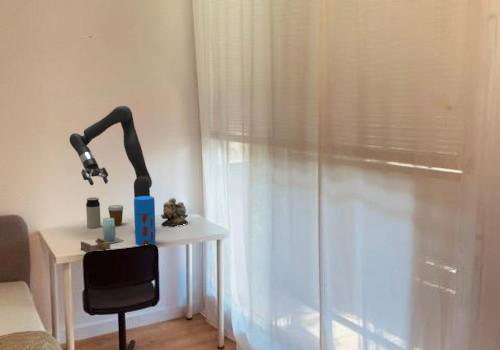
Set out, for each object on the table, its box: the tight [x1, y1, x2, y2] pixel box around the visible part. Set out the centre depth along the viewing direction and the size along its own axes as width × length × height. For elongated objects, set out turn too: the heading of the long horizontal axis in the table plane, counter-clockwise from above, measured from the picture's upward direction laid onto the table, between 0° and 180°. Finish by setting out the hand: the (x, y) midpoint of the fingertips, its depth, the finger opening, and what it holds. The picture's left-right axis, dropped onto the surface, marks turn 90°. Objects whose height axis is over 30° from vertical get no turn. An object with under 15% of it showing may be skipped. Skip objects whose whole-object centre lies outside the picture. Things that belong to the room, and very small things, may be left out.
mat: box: [95, 236, 125, 245], centre depth 265 cm, size 11×11×1 cm
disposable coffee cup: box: [107, 204, 124, 227], centre depth 301 cm, size 10×10×12 cm
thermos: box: [133, 195, 157, 246], centre depth 260 cm, size 11×11×25 cm
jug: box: [102, 217, 116, 242], centre depth 264 cm, size 6×8×12 cm
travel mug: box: [85, 196, 102, 229], centre depth 296 cm, size 8×8×18 cm
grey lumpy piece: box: [160, 197, 189, 227], centre depth 302 cm, size 18×12×17 cm, turn 127°
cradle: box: [80, 237, 111, 253], centre depth 250 cm, size 10×11×4 cm
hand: (99, 183), depth 271 cm, fingers open, 8 cm apart
